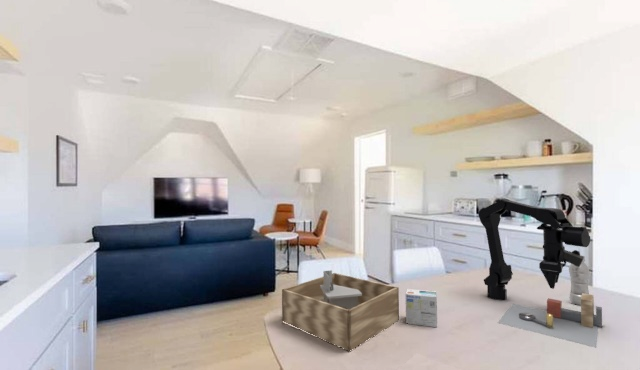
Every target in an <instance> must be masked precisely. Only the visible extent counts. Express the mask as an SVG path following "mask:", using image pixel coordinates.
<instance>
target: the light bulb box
mask: <svg viewBox="0 0 640 370" xmlns="http://www.w3.org/2000/svg"><path fill="white" fill-rule="evenodd" d="M437 297H438V296H437V291H436V290H427V289H426V290H423V289H413V288H411V289H410V288H406V292H405V324H406V323H408V324H409V325H414V326H415V325H416V326H425V327H432V328H433V327H434V328H437V327H438V302H437V301H438V300H437V299H438V298H437Z"/></svg>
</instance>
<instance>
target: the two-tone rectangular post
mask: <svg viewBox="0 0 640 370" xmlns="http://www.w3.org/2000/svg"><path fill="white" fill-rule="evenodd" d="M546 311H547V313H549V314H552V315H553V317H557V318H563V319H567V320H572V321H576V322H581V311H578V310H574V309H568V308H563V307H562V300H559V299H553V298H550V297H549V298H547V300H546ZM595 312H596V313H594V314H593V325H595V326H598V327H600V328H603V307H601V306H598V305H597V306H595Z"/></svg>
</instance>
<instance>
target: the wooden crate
mask: <svg viewBox="0 0 640 370" xmlns="http://www.w3.org/2000/svg"><path fill="white" fill-rule="evenodd" d="M332 284H334V285H338V286H343V287H348V288H352V289H357V290H359V291H360V292H361V293H362V296H358V306H356V307H353V308H351V309H349V310H348V309H345V308H342V307H338V306H335V305H332V304H329V303H326V302H323V301H320V299H324V293H323V291H322V290H321V288H320V285H324V275H323V276H321V277H317V278H314V279H311V280H308V281H305V282H302V283H299V284H296V285H292V286H289V287H286V288H283V289H281V309H282V310H281V322H282V321H284V322H286V323H288V324H291V325H293V326H295V327H297V328H300V329H302V330H304V331H306V332H308V333H310V334H313V335H315V336H317V337H320V338H322V339H324V340H326V341H328V342H330V343H332V344H335V345H337V346H340V347H342V348H344V349H346V350H348V351H347V352H349V351H350V350H352V349H353V350H355V349H356V348H355V347H357V346H358V345H360V344H361V345H363V344H364V343H366V342H367V341H366V340H368V339H369V338H371V337H372V338H373V336H374V335H375V336H377V335H378V334H377V333H379V332H380V333H381V331H382V330H383V331H385V330H386V329H388V328H390V327H391V326H393V325H394V324H396V323H397V322H399V321H400V308H399V307H400V302H399V301H400V300H399V299H400V296H399V295H400V294H399V293H400V292H399V291H400V290H399V286H398V287H397V286H394V285H389V284H385V283H380V282H376V281H372V280H368V279H363V278H357V277H354V276H348V275H347V274H346V275H345V274H341V273H336V272H334V273H333V272H332ZM398 320H399V321H398ZM396 321H397V322H396ZM395 322H396V323H395ZM393 323H394V324H393ZM392 324H393V325H392ZM390 325H391V326H390ZM389 326H390V327H389ZM387 327H388V328H387ZM385 328H386V329H385ZM384 329H385V330H384ZM383 331H382V332H383ZM380 333H379V334H380ZM376 334H377V335H376ZM375 336H374V337H375ZM372 338H371V339H372ZM369 340H370V339H369ZM369 340H368V341H369ZM326 341H325V342H326ZM365 341H366V342H365ZM328 342H327V343H328ZM363 342H364V343H363ZM330 343H329V344H330ZM362 343H363V344H362ZM332 344H331V345H332ZM335 345H334V346H335ZM361 345H360V346H361ZM337 346H336V347H337ZM358 347H359V346H358ZM358 347H357V348H358ZM342 348H341V349H342ZM354 348H355V349H354ZM344 349H343V350H344ZM346 350H345V351H346ZM353 350H352V351H353ZM350 352H351V351H350Z"/></svg>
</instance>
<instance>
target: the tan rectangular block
mask: <svg viewBox="0 0 640 370" xmlns="http://www.w3.org/2000/svg"><path fill="white" fill-rule="evenodd" d="M594 304H595V302H594V295H593V294H590V293H589V294H584V293H582V297H581V306H580V312H581V326H585V327H590V328H593V314H594V315H595V311H594V310H595V309H594V308H595V305H594Z"/></svg>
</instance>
